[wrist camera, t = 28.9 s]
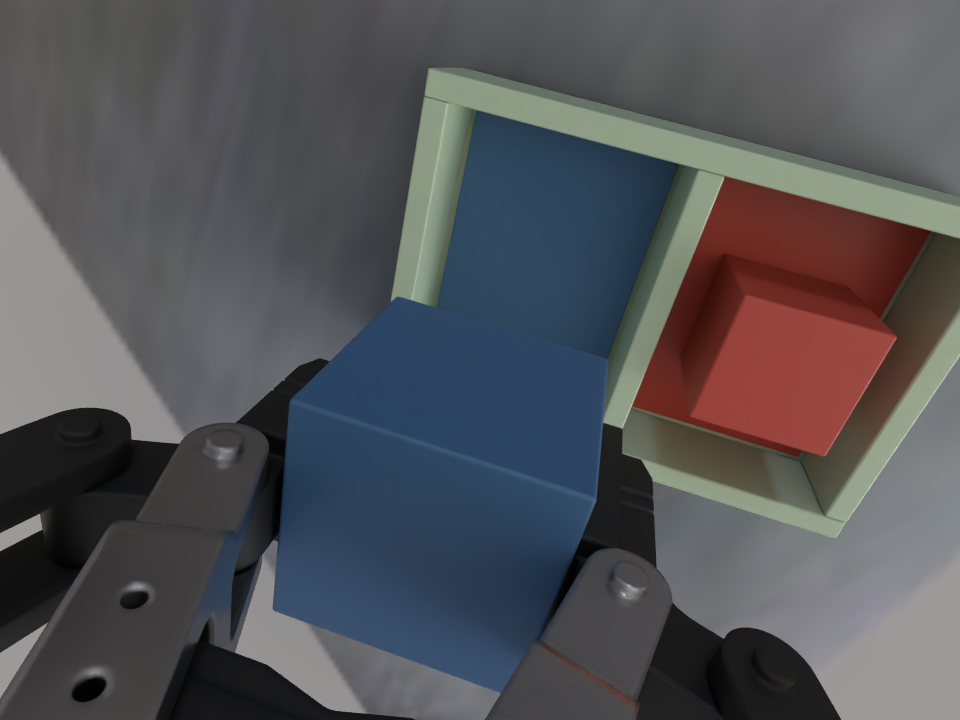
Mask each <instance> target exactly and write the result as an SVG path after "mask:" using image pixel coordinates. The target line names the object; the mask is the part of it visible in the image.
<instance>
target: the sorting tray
mask: <svg viewBox="0 0 960 720" xmlns="http://www.w3.org/2000/svg"><path fill="white" fill-rule="evenodd" d="M424 95H425V96H426V97H424V99H423V105H422V111H421V118H420V124H419V130H418V136H417V142H416V148H415V154H414V160H413V166H412V173H411V179H410V185H409V191H408V197H407V203H406V209H405V215H404V222H403V228H402V234H401V240H400V246H399V252H398V258H397V264H396V271H395V277H394V283H393V289H392V295H391V301H390V303H391V302H392V301H393V300H394V299H395V298H396V297H402V298H406V299H409V300H412V301H416V302H419V303H422V304H426V305H429V306H432V307H436V308H439V309H442V310H446V311H449V312H452V313H456V314H459V315H462V316H466V317H469V318H472V319H476V320H479V321H482V322H486V323H489V324H493V325H496V326H499V327H503V328H506V329H509V330H513V331H516V332H519V333H523V334H526V335H529V336H533V337H536V338H539V339H543V340H546V341H549V342H553V343H556V344H559V345H563V346H566V347H569V348H573V349H576V350H579V351H583V352H586V353H589V354H593V355H596V356H599V357H603V358H606V359H607V360H608V371H607V383H606V394H605V406H604V418H603V423H606V424H610V425H613V426H616V427H619V428H622V429H623V441H622V454H625V455H628V456H631V457H634V458H638V459H641V460H642V462H643V463H644V465H645V467H646V469H647V470H648V472H649V474H650V475H651V477H652V481H654V482H658V483H661V484H664V485H667V486H670V487H673V488H677V489H680V490H683V491H686V492H689V493H692V494H695V495H699V496H702V497H705V498H708V499H711V500H714V501H717V502H721V503H724V504H727V505H730V506H733V507H736V508H739V509H743V510H746V511H749V512H752V513H755V514H758V515H761V516H765V517H768V518H771V519H774V520H777V521H780V522H783V523H787V524H790V525H793V526H796V527H799V528H802V529H806V530H809V531H812V532H815V533H818V534H821V535H824V536H828V537H831V538H836V537H837V535H838V534H839V532H840V531H841V530H842V528H843V527H844V525H845V522H847V521H848V519H849V518H850V516H851V515H852V513H853V512H854V510H855V509H856V508H857V506H858V505H859V503H860V502H861V500H862V499H863V497H864V496H865V494H866V493H867V491H868V490H869V488H870V487H871V486H872V484H873V483H874V481H875V480H876V478H877V477H878V475H879V474H880V472H881V471H882V469H883V468H884V466H885V465H886V464H887V462H888V461H889V459H890V458H891V456H892V455H893V453H894V452H895V450H896V449H897V447H898V446H899V444H900V443H901V442H902V440H903V439H904V437H905V436H906V434H907V433H908V431H909V430H910V428H911V427H912V425H913V424H914V422H915V421H916V420H917V418H918V417H919V415H920V414H921V412H922V411H923V409H924V408H925V406H926V405H927V403H928V402H929V400H930V399H931V398H932V396H933V395H934V393H935V392H936V390H937V389H938V387H939V386H940V384H941V383H942V381H943V380H944V378H945V377H946V376H947V374H948V373H949V371H950V370H951V368H952V367H953V365H954V364H955V362H956V361H957V359H958V358H959V356H960V197H959V196H955V195H951V194H947V193H944V192H940V191H936V190H932V189H928V188H924V187H920V186H917V185H913V184H909V183H905V182H901V181H897V180H893V179H890V178H886V177H882V176H878V175H874V174H870V173H867V172H863V171H859V170H855V169H851V168H847V167H843V166H840V165H836V164H832V163H828V162H824V161H820V160H816V159H813V158H809V157H805V156H801V155H797V154H793V153H790V152H786V151H782V150H778V149H774V148H770V147H766V146H763V145H759V144H755V143H751V142H747V141H743V140H739V139H736V138H732V137H728V136H724V135H720V134H716V133H713V132H709V131H705V130H701V129H697V128H693V127H689V126H686V125H682V124H678V123H674V122H670V121H666V120H663V119H659V118H655V117H651V116H647V115H643V114H639V113H636V112H632V111H628V110H624V109H620V108H616V107H612V106H609V105H605V104H601V103H597V102H593V101H589V100H586V99H582V98H578V97H574V96H570V95H566V94H562V93H559V92H555V91H551V90H547V89H543V88H539V87H535V86H532V85H528V84H524V83H520V82H516V81H512V80H509V79H505V78H501V77H497V76H493V75H489V74H485V73H482V72H478V71H474V70H470V69H466V68H429V69H428V74H427V81H426V87H425V93H424ZM724 255H731V256H734V257H738V258H742V259H745V260H749V261H753V262H757V263H760V264H764V265H768V266H771V267H775V268H779V269H782V270H786V271H790V272H794V273H797V274H801V275H805V276H808V277H812V278H816V279H820V280H823V281H827V282H831V283H834V284H838V285H842V286H846V287H849V288H850V289H851V290H852V291H853V292H854V293H855V294H856V295H857V296H858V297H859V298H860V299H861V300H862V301H863V302H864V303H865V304H866V305H867V306H868V308H869V309H870V310H871V311H872V312H873V313H874V314H875V315H876V316H877V317H878V318H879V319H880V320H881V321H882V322H883V323H884V324H885V325H886V326H887V327H888V328H889V329H890V330H891V331H892V332H893V333H894V334H895V335H896V336H897V338H896V340H895V342H894V344H893V345H892V347H891V349H890V350H889V352H888V354H887V355H886V357H885V358H884V360H883V362H882V363H881V365H880V367H879V368H878V370H877V372H876V373H875V375H874V377H873V378H872V380H871V382H870V383H869V385H868V387H867V388H866V390H865V392H864V393H863V395H862V397H861V398H860V400H859V402H858V403H857V405H856V406H855V408H854V410H853V411H852V413H851V415H850V416H849V418H848V420H847V421H846V423H845V425H844V426H843V428H842V430H841V431H840V433H839V435H838V436H837V438H836V440H835V441H834V443H833V445H832V446H831V448H830V450H829V451H828V453H827V455H826V456H820V455H816V454H813V453H810V452H806V451H803V450H800V449H796V448H793V447H790V446H786V445H783V444H780V443H776V442H773V441H769V440H766V439H763V438H759V437H756V436H753V435H749V434H746V433H743V432H739V431H736V430H733V429H729V428H726V427H722V426H719V425H716V424H712V423H709V422H706V421H702V420H699V419H696V418H692V417H690V415H689V409H688V403H687V397H686V391H685V385H684V379H683V373H682V367H681V361H680V358H681V356H682V354H683V351H684V349H685V347H686V344H687V342H688V339H689V337H690V335H691V332H692V330H693V328H694V325H695V323H696V320H697V318H698V316H699V313H700V311H701V309H702V306H703V304H704V301H705V299H706V297H707V294H708V292H709V290H710V287H711V285H712V282H713V280H714V278H715V275H716V273H717V271H718V268H719V266H720V263H721V261H722V259H723V256H724Z"/></svg>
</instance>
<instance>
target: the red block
mask: <svg viewBox="0 0 960 720" xmlns="http://www.w3.org/2000/svg"><path fill="white" fill-rule="evenodd" d="M896 338H897V336H896V335H895V334H894V333H893V332H892V331H891V330H890V329H889V328H888V327H887V326H886V325H885V324H884V323H883V322H882V321H881V320H880V319H879V318H878V317H877V316H876V315H875V314H874V313H873V312H872V311H871V310H870V309H869V308H868V306H867V305H866V304H865V303H864V302H863V301H862V300H861V299H860V298H859V297H858V296H857V295H856V294H855V293H854V292H853V291H852V290H851V289H850V288H849V287H846V286H842V285H838V284H834V283H831V282H827V281H823V280H820V279H816V278H812V277H808V276H805V275H801V274H797V273H794V272H790V271H786V270H782V269H779V268H775V267H771V266H768V265H764V264H760V263H757V262H753V261H749V260H745V259H742V258H738V257H734V256H731V255H724V256H723V259H722V261H721V263H720V266H719V268H718V271H717V273H716V275H715V278H714V280H713V282H712V285H711V287H710V290H709V292H708V294H707V297H706V299H705V301H704V304H703V306H702V309H701V311H700V313H699V316H698V318H697V320H696V323H695V325H694V328H693V330H692V332H691V335H690V337H689V339H688V342H687V344H686V347H685V349H684V351H683V354H682V356H681V358H680V361H681V367H682V373H683V379H684V385H685V391H686V397H687V403H688V409H689V415H690V417H692V418H696V419H699V420H702V421H706V422H709V423H712V424H716V425H719V426H722V427H726V428H729V429H733V430H736V431H739V432H743V433H746V434H749V435H753V436H756V437H759V438H763V439H766V440H769V441H773V442H776V443H780V444H783V445H786V446H790V447H793V448H796V449H800V450H803V451H806V452H810V453H813V454H816V455H820V456H826V455H827V453H828V451H829V450H830V448H831V446H832V445H833V443H834V441H835V440H836V438H837V436H838V435H839V433H840V431H841V430H842V428H843V426H844V425H845V423H846V421H847V420H848V418H849V416H850V415H851V413H852V411H853V410H854V408H855V406H856V405H857V403H858V402H859V400H860V398H861V397H862V395H863V393H864V392H865V390H866V388H867V387H868V385H869V383H870V382H871V380H872V378H873V377H874V375H875V373H876V372H877V370H878V368H879V367H880V365H881V363H882V362H883V360H884V358H885V357H886V355H887V354H888V352H889V350H890V349H891V347H892V345H893V344H894V342H895V340H896Z"/></svg>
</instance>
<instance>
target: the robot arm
mask: <svg viewBox="0 0 960 720" xmlns="http://www.w3.org/2000/svg"><path fill="white" fill-rule="evenodd" d="M329 362H330V361H327V360H324V359H321V358H319V359H317V360H314V361H311V362H309V363H306V364H303V365H300V366H298V367H297V368H296V369H295V370H294V371H293V372H292V373H291V374H290V375H288V376H287V377H286V378H285V381H282V382H281V383H280V384H278V385H277V386H276V387H275V388H274V391H271V392H270V393H268V394H267V395H266V396H265V397H264V398H263V399H262V400H261V401H260V402H258V403H257V404H256V405H255V406H254V407H253V408H252V409H251V410H250V411H248V412H247V413H246V414H245V415H244V416H243V417H242V418H241V419H240V420H238V421H237V422H236V423H216V424H211V425H206V426H203V427H200V428H198V429H196V430H194V431H192V432H191V433H189V434H188V435H187V436H185V437H184V438H183V440H182V441H181V443H180V444H174V443H160V442H150V441H140V440H131V427H130V424H129V422H128V420H127V419H126V418H125V417H124V416H122V415H120V414H118V413H116V412H114V411H111V410H107V409H100V408H78V409H71V410H66V411H62V412H59V413H56V414H53V415H50V416H48V417H45V418H42V419H40V420H37V421H34V422H32V423H29V424H26V425H24V426H21V427H18V428H16V429H13V430H11V431H8V432H5V433H3V434H0V533H1V532H3V531H5V530H7V529H9V528H11V527H13V526H15V525H17V524H20V523H22V522H24V521H26V520H28V519H30V518H32V517H34V516H36V515H38V514H40V516H41V523H42V528H43V530H41V531H39V532H37V533H35V534H33V535H31V536H29V537H27V538H25V539H23V540H21V541H19V542H17V543H16V544H14V545H12V546H10V547H8V548H6V549H4V550H2V551H0V652H2V651H4V650H5V649H7V648H8V647H10V646H11V645H13V644H15V643H16V642H18V641H19V640H21V639H22V638H24V637H26V636H27V635H29V634H30V633H32V632H34V631H35V630H37V629H38V628H40V627H41V626H43V625H45V624H46V623H48V624H47V625H46V627H45V629H44V630H43V632H42V633H41V635H40V636H39V638H38V640H37V641H36V643H35V644H34V646H33V648H32V649H31V651H30V652H29V654H28V655H27V657H26V659H25V660H24V662H23V663H22V665H21V667H20V668H19V670H18V671H17V673H16V674H15V676H14V678H13V679H12V681H11V682H10V684H9V686H8V687H7V689H6V690H5V692H4V693H3V695H2V697H1V698H0V720H414V719H412V718H405V717H394V716H384V715H373V714H362V713H352V712H341V711H334V710H330V709H327V708H326V707H324V706H322V705H321V704H320V703H318V702H317V701H316V700H314V699H313V698H311V697H310V696H309V695H307V694H306V693H305V692H303V691H302V690H300V689H299V688H298V687H297V686H295V685H294V684H292V683H291V682H290V681H288V680H287V679H286V678H284V677H283V676H282V675H280V674H279V673H278V672H276V671H275V670H273V669H272V668H271V667H269V666H268V665H266V664H263V663H261V662H258V661H255V660H253V659H250V658H247V657H244V656H242V655H239V654H236V653H235V650H236V647H237V644H238V641H239V637H240V634H241V631H242V628H243V624H244V621H245V617H246V615H247V611H248V608H249V605H250V602H251V598H252V595H253V592H254V589H255V585H256V582H257V579H258V576H259V572H260V569H261V564H262V554H263V553H264V552H265V550H266V549H267V548H268V546H269V545H270V544H271V542H272V541H273V540H275V541H278V537H279V525H280V513H281V500H282V488H283V476H284V464H285V451H286V439H287V427H288V414H289V403H290V400H291V399H292V398H293V397H294V396H295V395H296V394H297V393H298V392H299V391H300V390H301V389H302V388H303V387H304V386H305V385H306V384H307V383H308V382H309V381H310V380H311V379H312V378H313V377H314V376H315V375H316V374H317V373H318V372H320V371H321V370H322V369H323V368H324V367H325V366H326V365H327V364H328V363H329ZM622 441H623V429H622V428H619V427H616V426H613V425H610V424H606V423H603V429H602V441H601V453H600V465H599V476H598V488H597V500H596V503H595V505H594V508H593V510H592V513H591V515H590V518H589V520H588V523H587V525H586V528H585V530H584V533H583V535H582V538H581V540H580V542H579V545H578V547H577V550H576V552H575V555H574V557H573V560H572V562H571V565H570V567H569V570H568V572H567V575H566V577H565V580H564V582H563V584H562V587H561V589H560V592H559V594H558V597H557V599H556V602H555V604H554V607H553V609H552V612H551V614H550V617H549V619H548V622H547V624H546V626H545V629H544V631H543V635H542V636H541V638H540V639H539V638H538V637H537V638H535V640H534V641H533V642H532V644H531V645H530V647H529V648H528V650H527V651H526V653H525V655H524V656H523V658H522V660H521V661H520V663H519V665H518V666H517V668H516V670H515V671H514V673H513V674H512V676H511V678H510V679H509V681H508V683H507V684H506V686H505V688H504V689H503V691H502V693H501V694H500V696H499V698H498V699H497V701H496V702H495V704H494V706H493V707H492V709H491V711H490V712H489V714H488V716H487V717H486V719H485V720H841V718H840V717H839V715H838V713H837V712H836V710H835V708H834V706H833V704H832V703H831V701H830V699H829V698H828V696H827V694H826V692H825V691H824V689H823V687H822V685H821V684H820V682H819V680H818V678H817V677H816V675H815V673H814V672H813V670H812V669H811V667H810V666H809V665H808V663H807V662H806V661H805V660H804V659H803V658H802V657H801V656H800V655H799V654H798V652H796V651H795V650H794V649H793V648H792V647H791V646H789V645H788V644H787V643H785V642H784V641H782V640H781V639H779V638H777V637H775V636H774V635H772V634H769V633H767V632H765V631H762V630H759V629H754V628H737V629H734V630H732V631H730V632H729V633H728V634H727V635H726V637H725V638H724V639H723V638H721V637H720V636H718V635H716V634H715V633H713V632H711V631H710V630H708V629H707V628H705V627H703V626H702V625H700V624H698V623H697V622H695V621H694V620H692V619H691V618H689V617H688V616H687V615H685V614H684V613H683V612H682V611H680V610H679V609H678V608H677V607H676V606H675V605H674V604H673V603H672V594H671V589H670V587H669V585H668V583H667V581H666V579H665V578H664V576H663V575H662V574H661V573H660V572H659V570H657V569H656V548H655V527H654V515H653V512H654V505H653V500H652V498H653V483H652V477H651V475H650V474H649V472H648V470H647V469H646V467H645V465H644V463H643V462H642V460H641V459H638V458H634V457H631V456H628V455H625V454H622Z"/></svg>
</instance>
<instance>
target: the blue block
mask: <svg viewBox="0 0 960 720" xmlns="http://www.w3.org/2000/svg"><path fill="white" fill-rule="evenodd" d="M607 371H608V360H607V359H606V358H603V357H599V356H596V355H593V354H589V353H586V352H583V351H579V350H576V349H573V348H569V347H566V346H563V345H559V344H556V343H553V342H549V341H546V340H543V339H539V338H536V337H533V336H529V335H526V334H523V333H519V332H516V331H513V330H509V329H506V328H503V327H499V326H496V325H493V324H489V323H486V322H482V321H479V320H476V319H472V318H469V317H466V316H462V315H459V314H456V313H452V312H449V311H446V310H442V309H439V308H436V307H432V306H429V305H426V304H422V303H419V302H416V301H412V300H409V299H406V298H402V297H396V298H395V299H394V300H393V301H392V302H391V303H390V304H389V305H387V306H386V307H385V308H384V309H383V310H382V311H381V312H380V313H379V314H378V315H377V316H376V317H375V318H374V319H373V320H372V321H371V322H370V323H369V324H368V325H367V326H366V327H365V328H364V329H363V330H362V331H361V332H360V333H359V334H358V335H357V336H356V337H355V338H354V339H352V340H351V341H350V342H349V343H348V344H347V345H346V346H345V347H344V348H343V349H342V350H341V351H340V352H339V353H338V354H337V355H336V356H335V357H334V358H333V359H332V360H331V361H330V362H329V363H328V364H327V365H326V366H325V367H324V368H323V369H322V370H321V371H320V372H318V373H317V374H316V375H315V376H314V377H313V378H312V379H311V380H310V381H309V382H308V383H307V384H306V385H305V386H304V387H303V388H302V389H301V390H300V391H299V392H298V393H297V394H296V395H295V396H294V397H293V398H292V399H291V400H290V403H289V414H288V427H287V439H286V451H285V464H284V476H283V488H282V500H281V513H280V525H279V537H278V550H277V562H276V574H275V587H274V599H273V610H274V611H276V612H279V613H281V614H284V615H287V616H290V617H292V618H295V619H298V620H301V621H303V622H306V623H309V624H312V625H314V626H317V627H320V628H323V629H325V630H328V631H331V632H334V633H336V634H339V635H342V636H345V637H348V638H350V639H353V640H356V641H359V642H361V643H364V644H367V645H370V646H372V647H375V648H378V649H381V650H383V651H386V652H389V653H392V654H394V655H397V656H400V657H403V658H405V659H408V660H411V661H414V662H417V663H419V664H422V665H425V666H428V667H430V668H433V669H436V670H439V671H441V672H444V673H447V674H450V675H452V676H455V677H458V678H461V679H463V680H466V681H469V682H472V683H474V684H477V685H480V686H483V687H486V688H488V689H491V690H494V691H497V692H499V693H502V691H503V689H504V688H505V686H506V684H507V683H508V681H509V679H510V678H511V676H512V674H513V673H514V671H515V670H516V668H517V666H518V665H519V663H520V661H521V660H522V658H523V656H524V655H525V653H526V651H527V650H528V648H529V647H530V645H531V644H532V642H533V641H534V640H535V638H537V637H538V638H539V639H540V638H541V636H542V634H543V631H544V629H545V626H546V624H547V622H548V619H549V617H550V614H551V612H552V609H553V607H554V604H555V602H556V599H557V597H558V594H559V592H560V589H561V587H562V584H563V582H564V580H565V577H566V575H567V572H568V570H569V567H570V565H571V562H572V560H573V557H574V555H575V552H576V550H577V547H578V545H579V542H580V540H581V538H582V535H583V533H584V530H585V528H586V525H587V523H588V520H589V518H590V515H591V513H592V510H593V508H594V505H595V503H596V500H597V488H598V476H599V465H600V453H601V441H602V429H603V418H604V406H605V394H606V383H607Z"/></svg>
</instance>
